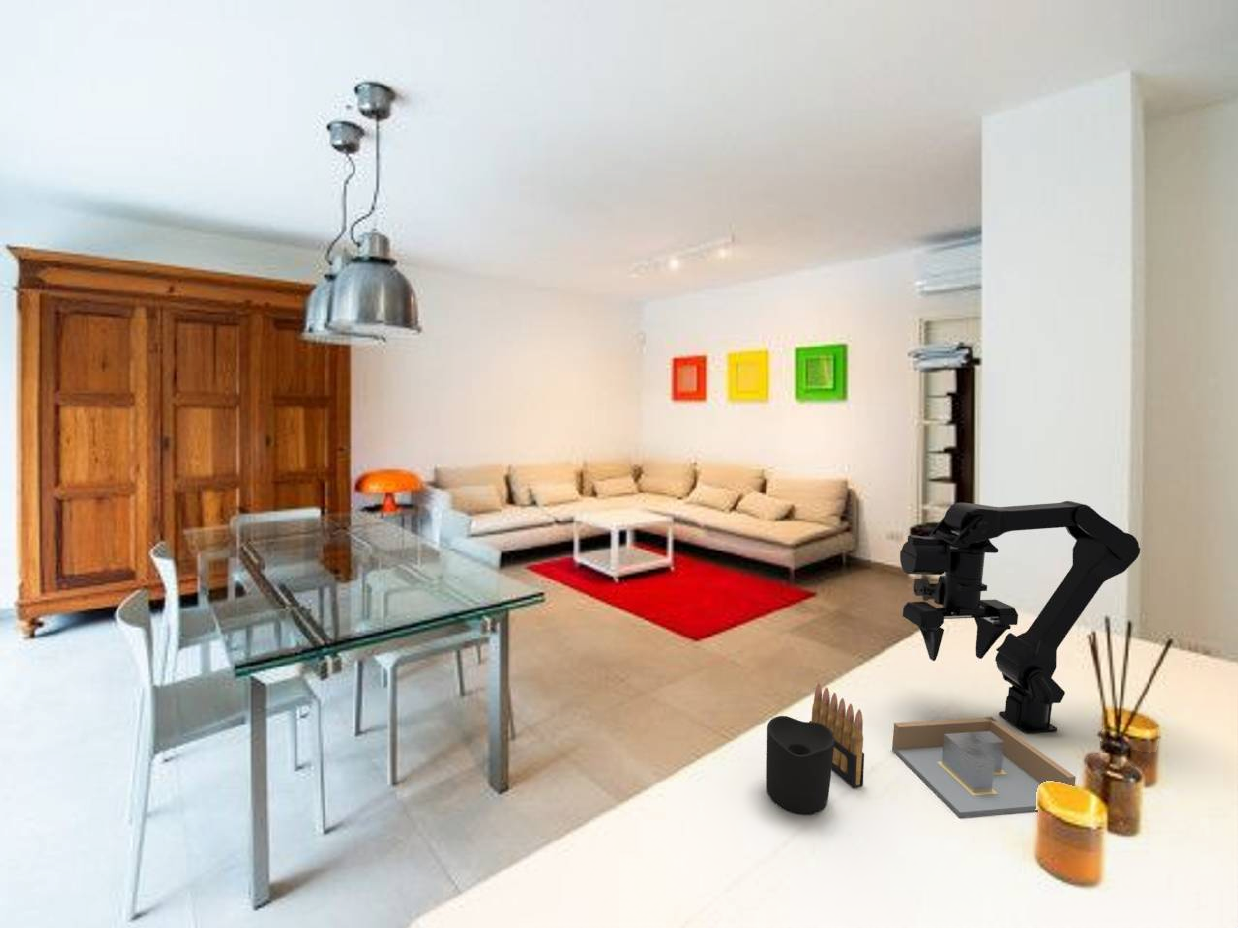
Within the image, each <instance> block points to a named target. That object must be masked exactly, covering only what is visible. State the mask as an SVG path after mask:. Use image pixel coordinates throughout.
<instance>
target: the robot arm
mask: <svg viewBox="0 0 1238 928" xmlns="http://www.w3.org/2000/svg"><path fill="white" fill-rule="evenodd" d="M1055 528H1057V529H1058V528H1064V529H1065V530H1066V531H1067V533H1068V534H1069V535H1070V536H1071V537H1072V538H1073V539H1074V540H1075V543H1074V545H1073V548H1072V566H1071V568H1070V569H1069V570H1068V572H1067V573H1066V575H1065V576H1064V578H1063V579H1062V581H1061V582H1060V584H1059V585H1058V586H1057V588H1056V589H1055V591H1054V592H1053V593H1052V595H1051V597H1050V598H1049V599H1048V600H1047V602H1046V604H1045V605H1044V606H1043V608H1042V609H1041V611H1040V613H1038V615H1037V617H1036V618H1035V620H1033V622H1032V623H1031V625H1030V627H1029V628H1028V629H1027V631H1026V632H1023V633H1021V634H1019V635H1017V636H1016V635H1014V633H1011V632H1008V634H1007V635H1006V636H1005V638H1004V640H1003V642H1002V644H1001V645H1000V646H998V647H997V648H995V650H996V651H997V653H996V655H995V660H994V661H995V663H996V668H997V669H998V671H1000V672H1001V674H1002V679H1003V680H1004V681H1005V682H1008V683H1009V684H1010V685H1011V686H1008V693H1007V695H1006V698H1005V706H1004V707H1005V708H1004V710H1003V711H1002V710H1001V711H999V712H998V715H999V716H1001V717H1002V718H1003V719H1005V720H1006V721H1008V722H1010V723H1011V724H1012V725H1014V726H1015V727H1017V729H1019V730H1020V731H1022V732H1024V733H1026V734H1035V733H1036V734H1037V733H1049V732H1050V733H1051V732H1058V727H1057V726H1055V725H1053V724H1052V723H1051V717H1052V710H1053V709H1052V708H1053V704H1060V703H1061V702H1062V700H1063V698H1064V696H1065V694H1066V692H1065V691H1064V689H1063V688H1062V687H1061V686H1060V685H1059V684H1058V683H1057V682H1056V681H1055V679H1053V678H1052V677H1053V676H1054V674H1055V671H1056V669H1057V663H1058V662H1057V661H1058V660H1057V658H1058V657H1057V652H1058V648H1059V647H1060V645H1061V644H1062V643H1063V641H1064V640H1065V638H1066V636H1067V635H1068V634H1069V632H1070V631H1071V629H1072V628H1073V627H1074V626H1075V624H1076V622H1077V621H1078V619H1079V618H1080V617H1081V616H1082V614H1083V612H1084V611H1085V610H1086V608H1087V607H1088V605H1089V604H1090V602H1091V601H1092V599H1093V598H1094V597H1095V595H1096V594H1097V592H1098V591H1099V590H1100V588H1101V587H1102V586H1103V584H1104V583H1106V581H1108V580H1111V579H1112V578H1115V577H1117V576H1119V575H1121V574H1123V573H1125V571H1127V570H1128V568H1129V567H1130V566H1131V565H1132V564H1133V563H1134V562H1135V561H1136V560H1137V559H1138V557H1139V555H1140V554H1141V548H1140V546H1139V541H1138V539H1137V538H1136V537H1135V536H1134V535H1133V534H1130V533H1127V532H1124V530H1122V529H1121V528H1120V527H1118V526H1116V525H1115V524H1113V523H1112V522H1110V521H1109V520H1108V519H1105V518H1104V517H1102V515H1100V514H1099V513H1098V512H1097V511H1096V510H1095V509H1093V508H1092V507H1091V506H1090V505H1088V504H1084V503H1081V502H1075V501H1072V500H1065V501H1062V502H1051V503H1040V504H1039V503H1038V504H1027V505H1026V504H1025V505H1024V504H1023V505H1012V506H992V505H985V504H979V503H977V504H976V503H970V502H969V503H968V502H957V503H956V502H955V503H953V504H951V505H950V507H948V509H947V510H946V512H945V513H944V517H943V518H942V519H941V520H940V521H939V522H938V523H937V525H936V526H935V527H934V528H933V530H931V531H930V533H929V536H919V535H914V534H913V535H911V534H910V535H907V541H906V542H905V543H904V544H903V546H902V548H901V549H900V552H899V558H900V559H899V561H900V565H901V568H902V570H903V572H904V573H905V574H907V575H917V576H918V575H920V576H921V575H922V576H923V575H924V576H925V575H926V576H928V575H931V576H939V577H938V580H937V581H938V582H936V583H930V580H929V578H915V579H914V581H913V593H914V595H915V596H916V597H921V596H922V601H908V602H906V603H905V604H904V605H903V608H902V617H903V618H905V619H907V620H909V622H911V623H912V624H914V625H915V626H917V628H918V629H919V631H920V634H921V635H922V639H923V641H924V645H925V648H926V651H927V655H928V658H929V660H931V661H932V662H935V661H936V660H937V657H938V655H939V651H940V648H941V644H942V641H943V636H944V632H945V629H944V628H942V626H943V624H945V623H944V622H945V620H948V619H949V620H950V619H951V620H953V619H974V622H975V624H976V637H975V657H976V658H977V659H978V660H981V659H983V658H984V656H986V654H987V653H988V652H989V650H990V649H991V648H992V647H993V646H994V644H995V643H996V642H997V640H999V639H1000V637H1002V635H1003V634H1004V633H1005V632H1006V631H1007V630H1011V628H1012V627H1011V626H1018V622H1019V613H1018V612H1017V610H1016V608H1015V607H1013V606H1010V605H1009V604H1007V603H1004V602H1002V601H1000V600H997V599H981V597H982V592H987V591H988V585H987V584H986V583H985V584H984V583H983V575H984V564H985V557H986V555H985V554H986V553H991V554H994V553H995V554H996V553H998V552H999V548H997V546H995V545H994V544H993V543H992V542H991V539H995V538H998V537H1001V536H1002V535H1004V534H1005V533H1010V532H1013V531H1014V532H1015V531H1016V532H1017V531H1028V530H1041V529H1043V530H1045V529H1055ZM952 533H953V534H952ZM954 534H955V535H954ZM956 535H957V536H956ZM943 574H944V575H943ZM929 600H930V601H931V600H933V603H934V604H936V605H938V606H939V605H940V606H941V607H935V606H933V605H932V604H930V603H928V602H927V601H929Z"/></svg>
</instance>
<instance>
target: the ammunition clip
mask: <svg viewBox="0 0 1238 928" xmlns="http://www.w3.org/2000/svg"><path fill="white" fill-rule="evenodd" d="M863 719H864V718H863V714H862V711H861V709H860V708H858V710H857V712H856V714H855V712H854V706H853V703H849V704H848V707H847V709H846V701H845V699H844V697H841V698H840V701H839V703H838V696H837V694H836V692H833V694H832V695H831V697H830V691H829V688H828V687H825V689H824V690H823V689H822V684H821V682H817V684H816V686H815V690H814V697H813V704H812V708H811V719H810V720H809V721H808V722H815V723H820V724H823V725H825V726H826V727H828V728H829V729H830V730H831V731H832V733H833V735H834V737H835V742H834V751H833V760H832V769H831V772H833V773H835V774H836V775H837V776H838V777H839V778H841V779H842V780H843V781H844V782H846V783H847V784H848V785H849V786H850V787H851V788H854V789H855V788H859V787H861V786H863V785H864V769H865V768H864V765H865V753H864V752H863V747H864V746H863V745H864V735H863V734H864V733H863V730H864V729H863V727H864V726H863V723H864V720H863Z"/></svg>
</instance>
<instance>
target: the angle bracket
mask: <svg viewBox="0 0 1238 928" xmlns="http://www.w3.org/2000/svg"><path fill="white" fill-rule="evenodd" d="M1003 752H1004V741H1003V740H1001V739H1000V738H999V737H997V736H996V735H995V734H993V733H992V732H991V731H983V732H967V733H951V734H944V742H943V753H942V764H943V765H944V766H945V767H946V768H947V769H948V770H949V771H950V772H951V773H952V774H954V775H955V776H956V777H957V778H958V779H959V780H960V781H961V782H962V783H963V784H964V785H966V786H967V787H968V788H969V789H970V790H971V791H972V792H973V793H976V792H989V791H992V784H993V774H994V772H1001V771H1002V761H1003Z"/></svg>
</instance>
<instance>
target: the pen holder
mask: <svg viewBox="0 0 1238 928" xmlns="http://www.w3.org/2000/svg"><path fill="white" fill-rule="evenodd" d="M834 742H835V737H834V735H833V733H832V731H831V730H830V729H829V728H828V727H826V726H825V725H823V724H820V723H815V722H809V721H808V722H807V721H801V720H799V719H798V720H797V719H795V718H793V717H790V716H787V715H779V716H775V717H773V718H772V719H770V720H769V721H768V722H767V724H766V763H765V765H766V769H765V770H766V771H765V772H766V774H765V775H766V777H765V778H766V779H765V783H766V786H765V787H766V792H767V795H768V797H769V798H770V799H771V801H772V800H773V801H774V802H773V801H772V802H773V803H774V804H775V805H776V804H777V805H776V806H778V807H779V808H780V807H781V809H782V810H784V811H786V812H788V813H791V814H794V815H795V814H796V815H801V816H806V815H807V816H809V815H814V814H815V815H816V814H817V813H820V812H821V811H822V810H824V809H825V808H826V806H827V804H828V799H829V793H830V787H831V786H830V785H831V778H832V777H831V776H832V770H831V769H832V760H833V751H834Z"/></svg>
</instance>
